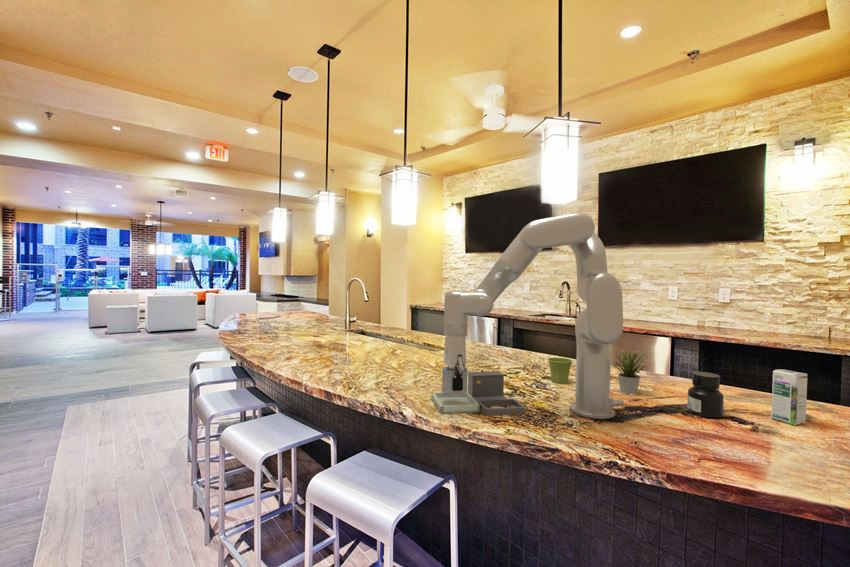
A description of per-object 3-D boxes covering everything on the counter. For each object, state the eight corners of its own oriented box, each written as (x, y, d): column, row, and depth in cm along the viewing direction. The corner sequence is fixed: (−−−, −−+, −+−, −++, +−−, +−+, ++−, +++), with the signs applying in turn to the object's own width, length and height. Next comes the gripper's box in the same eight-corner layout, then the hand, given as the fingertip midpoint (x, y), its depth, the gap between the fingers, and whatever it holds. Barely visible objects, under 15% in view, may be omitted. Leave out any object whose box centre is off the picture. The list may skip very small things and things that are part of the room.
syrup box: (770, 418, 114) (771, 370, 114) (782, 416, 116) (784, 368, 116) (794, 426, 109) (796, 374, 108) (806, 423, 111) (808, 373, 110)
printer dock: (500, 392, 136) (500, 371, 136) (525, 413, 115) (526, 388, 115) (465, 394, 134) (465, 372, 133) (485, 415, 113) (486, 389, 113)
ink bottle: (685, 406, 124) (686, 369, 124) (719, 411, 120) (720, 372, 120) (689, 415, 116) (690, 376, 115) (726, 421, 111) (727, 380, 111)
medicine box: (466, 393, 124) (467, 367, 124) (467, 398, 119) (467, 370, 119) (442, 392, 125) (442, 366, 124) (441, 397, 120) (442, 369, 120)
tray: (466, 397, 130) (466, 391, 130) (479, 411, 116) (479, 405, 116) (431, 398, 128) (431, 392, 128) (440, 413, 114) (441, 406, 114)
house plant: (665, 397, 133) (666, 350, 132) (636, 401, 128) (637, 352, 127) (629, 386, 146) (630, 343, 146) (601, 389, 141) (603, 345, 141)
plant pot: (542, 379, 154) (542, 357, 154) (562, 377, 157) (562, 356, 157) (556, 385, 146) (557, 362, 145) (577, 384, 148) (578, 361, 148)
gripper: (438, 326, 129) (437, 380, 130) (451, 334, 113) (449, 396, 113) (460, 326, 131) (459, 379, 131) (475, 334, 114) (474, 395, 114)
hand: (454, 386), depth 122 cm, fingers closed on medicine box, 5 cm apart
